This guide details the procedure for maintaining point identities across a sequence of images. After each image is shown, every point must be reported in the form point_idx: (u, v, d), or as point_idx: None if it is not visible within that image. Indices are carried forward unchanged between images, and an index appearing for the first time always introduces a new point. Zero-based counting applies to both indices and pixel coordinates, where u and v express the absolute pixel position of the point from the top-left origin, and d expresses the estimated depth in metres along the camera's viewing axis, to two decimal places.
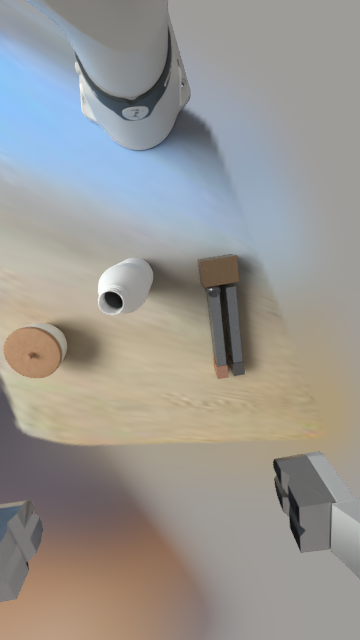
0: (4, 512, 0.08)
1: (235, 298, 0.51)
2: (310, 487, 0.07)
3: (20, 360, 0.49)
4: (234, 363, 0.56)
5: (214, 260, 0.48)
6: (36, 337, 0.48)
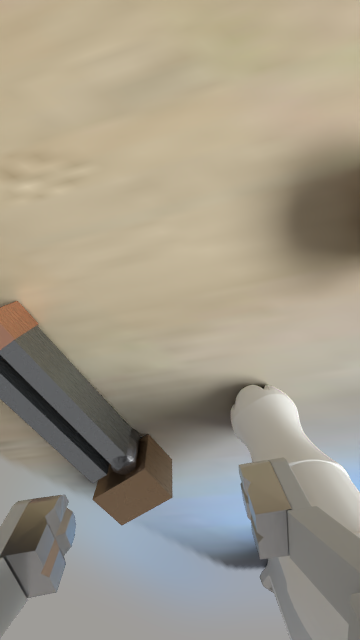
0: (41, 506, 0.08)
1: (79, 468, 0.27)
2: (268, 494, 0.07)
3: None
4: None
5: (151, 506, 0.28)
6: None
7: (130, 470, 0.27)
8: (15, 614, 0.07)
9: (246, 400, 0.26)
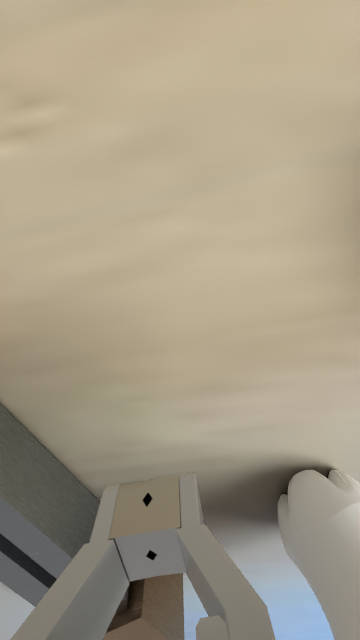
0: (134, 490, 0.08)
1: (37, 604, 0.17)
2: (164, 511, 0.07)
3: None
4: None
5: None
6: None
7: (118, 611, 0.17)
8: (121, 597, 0.07)
9: (312, 509, 0.16)
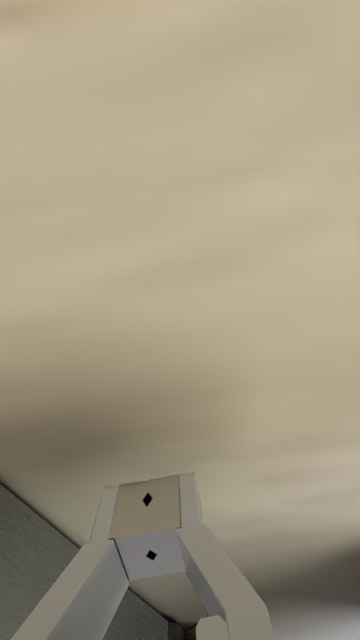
0: (134, 491, 0.08)
1: None
2: (165, 511, 0.07)
3: None
4: None
5: None
6: None
7: None
8: (121, 597, 0.07)
9: None
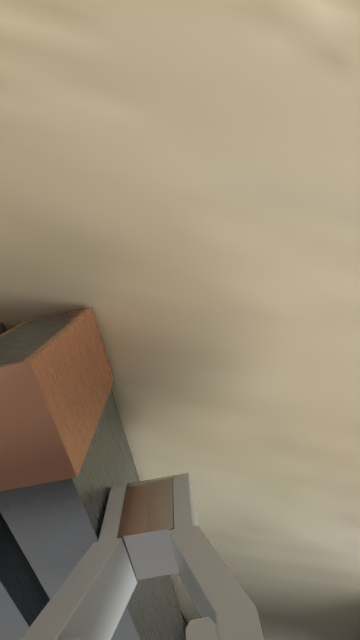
0: (141, 489, 0.08)
1: None
2: (157, 513, 0.07)
3: None
4: None
5: None
6: None
7: None
8: (130, 595, 0.07)
9: None
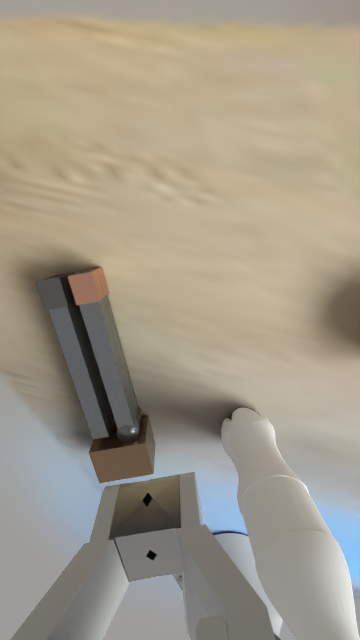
0: (134, 490, 0.08)
1: (89, 422, 0.31)
2: (164, 511, 0.07)
3: None
4: (65, 306, 0.26)
5: (132, 475, 0.32)
6: None
7: (130, 440, 0.31)
8: (121, 597, 0.07)
9: (244, 418, 0.32)
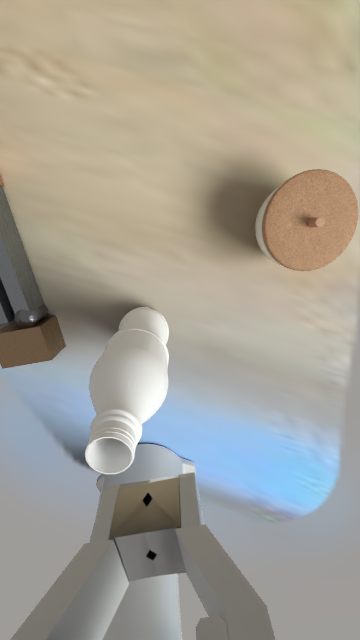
0: (134, 491, 0.08)
1: None
2: (164, 512, 0.07)
3: (334, 210, 0.28)
4: None
5: (32, 361, 0.35)
6: (295, 255, 0.29)
7: (28, 325, 0.34)
8: (121, 597, 0.07)
9: (135, 309, 0.35)
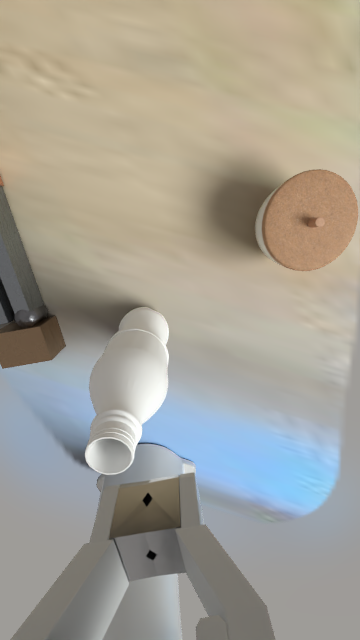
0: (133, 491, 0.08)
1: None
2: (164, 511, 0.07)
3: (334, 210, 0.28)
4: None
5: (32, 361, 0.35)
6: (295, 255, 0.29)
7: (28, 325, 0.34)
8: (121, 597, 0.07)
9: (135, 309, 0.35)
